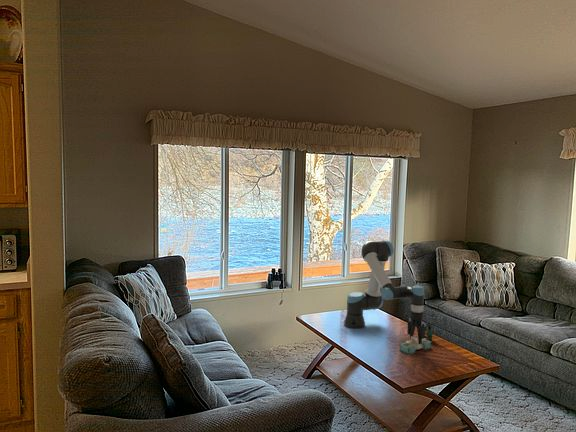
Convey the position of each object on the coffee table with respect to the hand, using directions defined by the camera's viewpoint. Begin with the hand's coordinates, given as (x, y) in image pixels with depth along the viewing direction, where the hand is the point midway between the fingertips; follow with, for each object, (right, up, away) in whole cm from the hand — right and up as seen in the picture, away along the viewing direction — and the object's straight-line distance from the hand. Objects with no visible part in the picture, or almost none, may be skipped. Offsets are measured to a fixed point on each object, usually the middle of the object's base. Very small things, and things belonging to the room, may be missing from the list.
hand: (415, 347), depth 272 cm
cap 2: (+6, -1, +4) cm, 8 cm away
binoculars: (+11, 0, +16) cm, 20 cm away
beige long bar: (0, 0, 0) cm, 0 cm away
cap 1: (-6, -1, -4) cm, 8 cm away
